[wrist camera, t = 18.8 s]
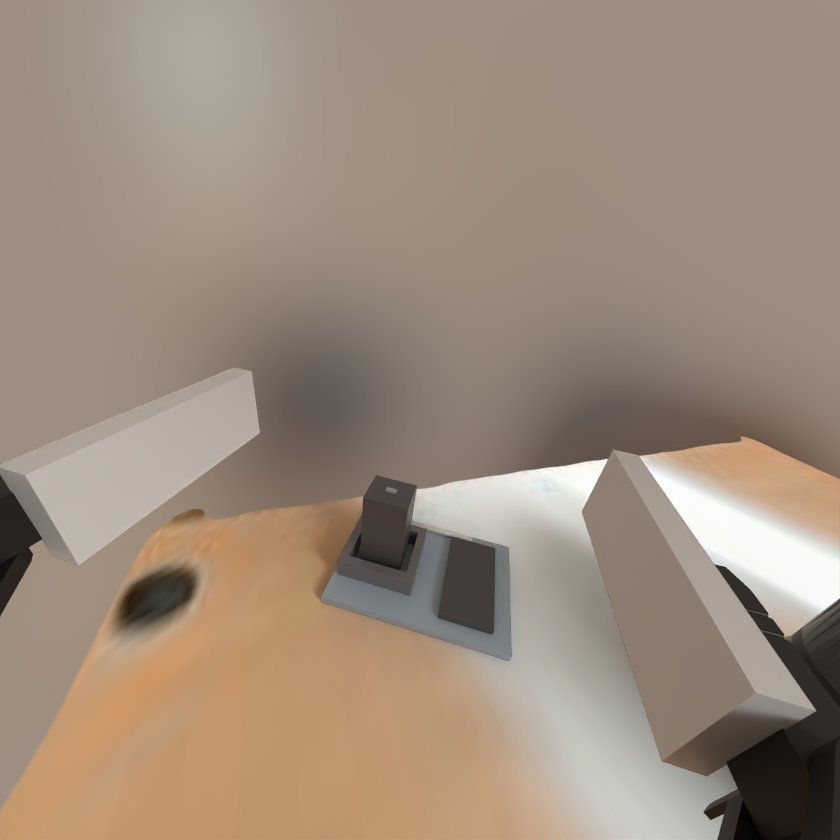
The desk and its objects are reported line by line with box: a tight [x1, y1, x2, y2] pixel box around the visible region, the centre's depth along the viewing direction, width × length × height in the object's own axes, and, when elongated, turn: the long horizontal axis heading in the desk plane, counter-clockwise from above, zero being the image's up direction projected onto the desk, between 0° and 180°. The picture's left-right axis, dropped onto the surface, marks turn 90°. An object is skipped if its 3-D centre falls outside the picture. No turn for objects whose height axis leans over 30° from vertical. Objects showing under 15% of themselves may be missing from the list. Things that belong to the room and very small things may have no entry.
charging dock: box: [321, 516, 512, 661], centre depth 40 cm, size 21×14×4 cm, turn 77°
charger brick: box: [360, 475, 417, 570], centre depth 38 cm, size 5×4×11 cm
